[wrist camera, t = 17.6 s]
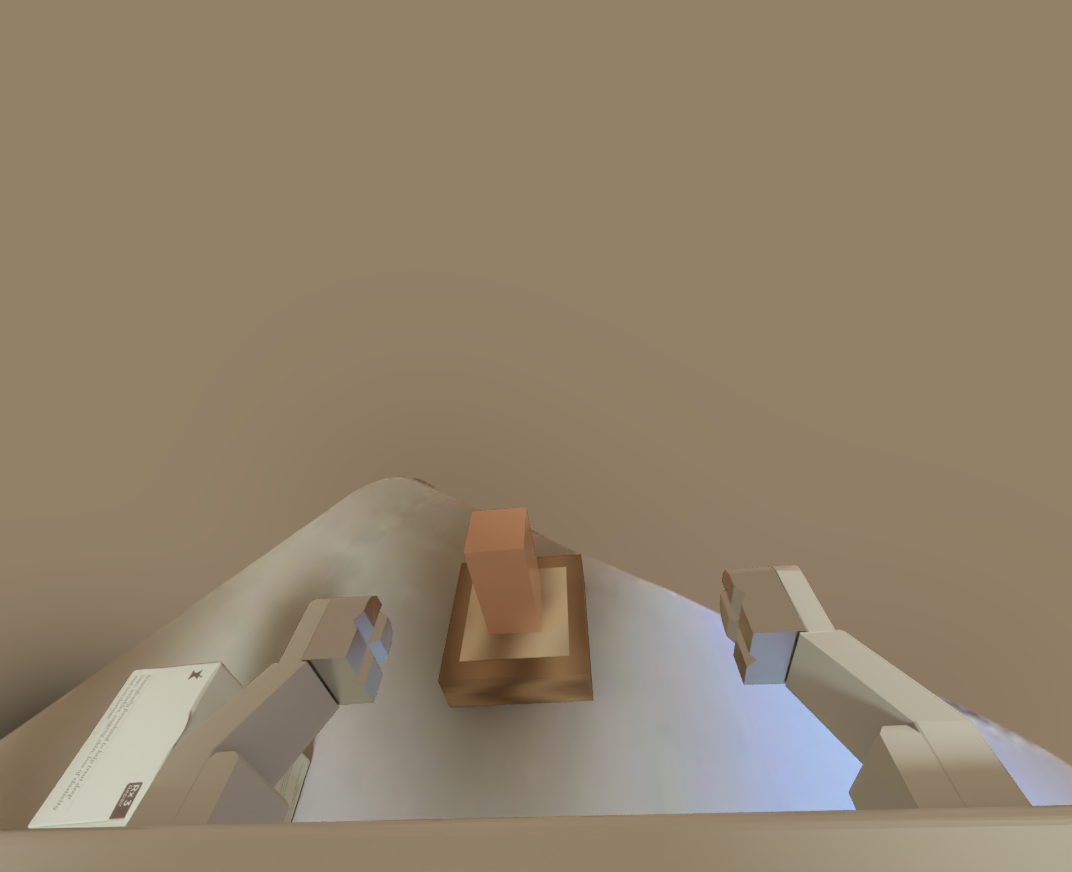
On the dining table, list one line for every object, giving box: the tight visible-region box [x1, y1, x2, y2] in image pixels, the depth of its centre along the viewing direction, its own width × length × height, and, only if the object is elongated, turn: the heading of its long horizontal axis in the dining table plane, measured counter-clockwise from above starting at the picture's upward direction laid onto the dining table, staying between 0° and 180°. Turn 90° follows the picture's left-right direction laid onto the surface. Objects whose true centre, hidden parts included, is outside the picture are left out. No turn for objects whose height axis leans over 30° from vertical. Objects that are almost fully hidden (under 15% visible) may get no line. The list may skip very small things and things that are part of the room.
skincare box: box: [28, 661, 310, 829], centre depth 30 cm, size 8×6×15 cm
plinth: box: [438, 554, 593, 707], centre depth 43 cm, size 12×12×4 cm
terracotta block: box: [463, 507, 542, 635], centre depth 39 cm, size 4×4×10 cm
